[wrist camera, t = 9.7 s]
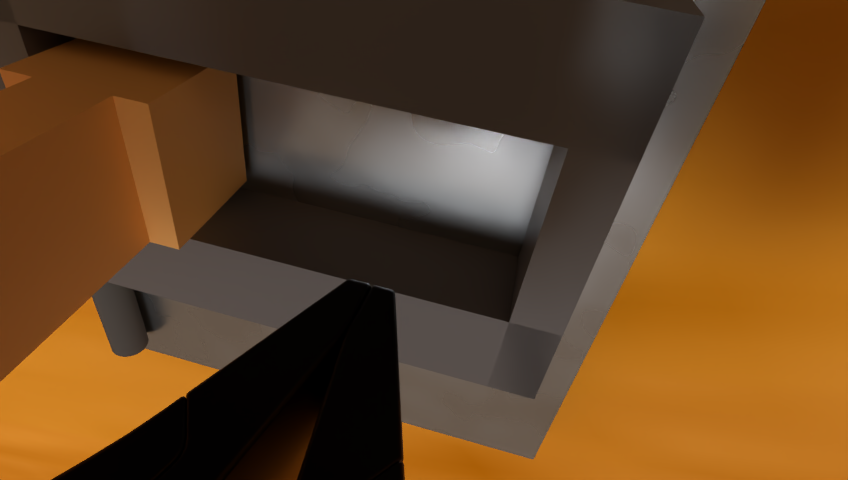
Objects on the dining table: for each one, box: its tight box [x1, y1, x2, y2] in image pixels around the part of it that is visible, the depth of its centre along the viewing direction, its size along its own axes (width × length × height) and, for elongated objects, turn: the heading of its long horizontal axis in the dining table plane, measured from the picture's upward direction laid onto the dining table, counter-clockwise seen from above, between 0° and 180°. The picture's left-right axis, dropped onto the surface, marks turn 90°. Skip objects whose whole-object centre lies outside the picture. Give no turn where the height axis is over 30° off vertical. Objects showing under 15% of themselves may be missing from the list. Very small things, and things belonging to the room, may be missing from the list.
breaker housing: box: [0, 0, 705, 399], centre depth 13 cm, size 13×12×2 cm
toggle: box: [0, 38, 247, 381], centre depth 10 cm, size 3×3×7 cm
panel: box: [134, 0, 766, 459], centre depth 13 cm, size 16×22×1 cm
